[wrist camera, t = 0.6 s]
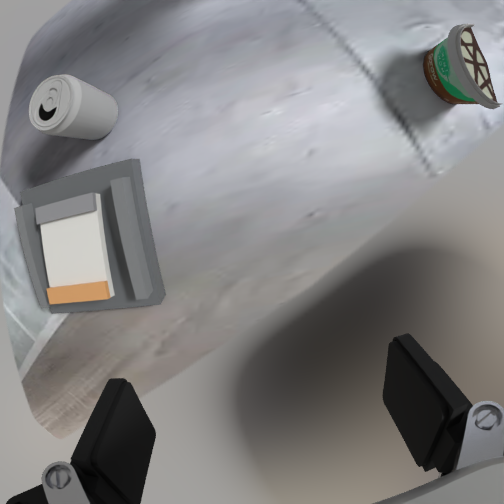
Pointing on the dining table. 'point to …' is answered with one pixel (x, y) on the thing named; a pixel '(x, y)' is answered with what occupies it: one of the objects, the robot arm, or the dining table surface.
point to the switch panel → (115, 229)
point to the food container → (460, 70)
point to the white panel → (75, 250)
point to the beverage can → (72, 108)
